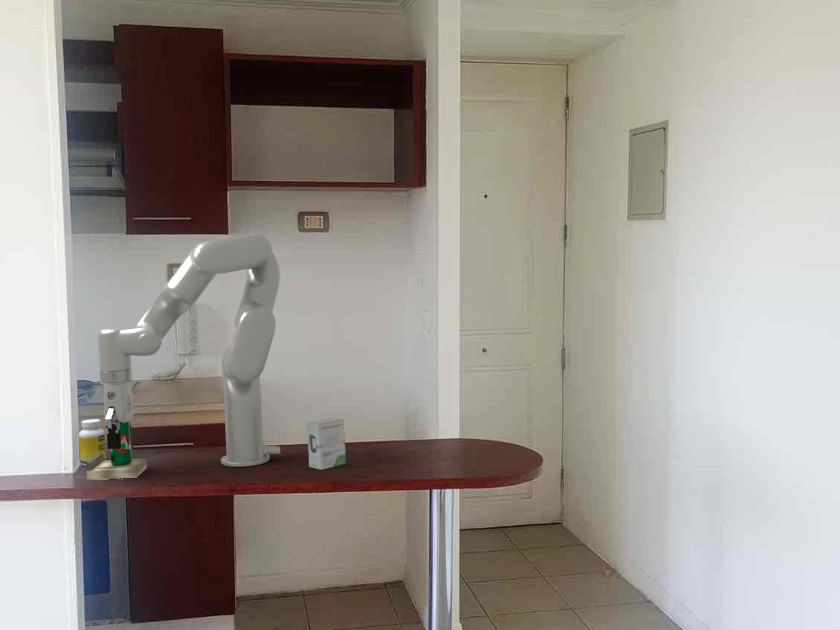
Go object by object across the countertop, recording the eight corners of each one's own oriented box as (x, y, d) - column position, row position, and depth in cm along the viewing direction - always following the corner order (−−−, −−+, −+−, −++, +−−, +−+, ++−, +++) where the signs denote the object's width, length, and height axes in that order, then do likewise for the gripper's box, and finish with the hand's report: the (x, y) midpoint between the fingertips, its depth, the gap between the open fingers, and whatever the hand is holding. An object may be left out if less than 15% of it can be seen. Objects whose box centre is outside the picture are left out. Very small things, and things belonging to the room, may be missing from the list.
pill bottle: (97, 467, 231) (95, 423, 230) (75, 466, 232) (72, 423, 231) (111, 460, 237) (108, 418, 236) (89, 460, 238) (86, 418, 237)
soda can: (115, 461, 225) (112, 415, 224) (135, 461, 224) (132, 415, 223) (108, 467, 220) (104, 420, 219) (127, 466, 219) (124, 419, 218)
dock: (146, 468, 227) (145, 451, 227) (136, 478, 217) (135, 460, 217) (99, 470, 227) (98, 453, 226) (87, 480, 217) (86, 462, 216)
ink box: (320, 470, 220) (318, 424, 219) (308, 467, 224) (306, 421, 223) (347, 463, 226) (345, 418, 225) (334, 460, 230) (332, 416, 229)
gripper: (121, 381, 212) (125, 451, 213) (140, 371, 229) (143, 436, 230) (89, 382, 211) (94, 453, 213) (110, 372, 229) (114, 437, 230)
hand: (119, 444), depth 222 cm, fingers open, 9 cm apart
